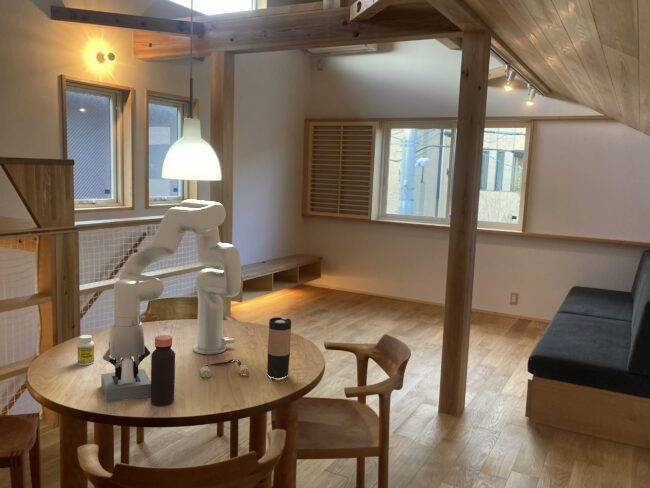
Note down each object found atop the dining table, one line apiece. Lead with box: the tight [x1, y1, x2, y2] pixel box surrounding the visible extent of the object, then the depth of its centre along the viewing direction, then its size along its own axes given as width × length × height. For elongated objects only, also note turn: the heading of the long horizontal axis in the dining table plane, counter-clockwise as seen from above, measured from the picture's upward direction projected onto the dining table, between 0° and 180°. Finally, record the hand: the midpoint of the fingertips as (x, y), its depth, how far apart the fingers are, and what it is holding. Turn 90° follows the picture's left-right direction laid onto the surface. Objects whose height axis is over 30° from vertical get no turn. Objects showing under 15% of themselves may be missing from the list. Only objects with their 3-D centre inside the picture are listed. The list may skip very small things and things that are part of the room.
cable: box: [199, 359, 250, 378], centre depth 193 cm, size 16×16×4 cm
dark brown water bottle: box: [150, 334, 176, 407], centre depth 164 cm, size 7×7×20 cm
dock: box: [100, 368, 151, 404], centre depth 171 cm, size 13×13×4 cm
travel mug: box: [266, 316, 292, 378], centre depth 189 cm, size 8×8×20 cm
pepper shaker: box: [118, 357, 136, 385], centre depth 170 cm, size 5×5×11 cm
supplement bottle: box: [77, 334, 95, 366], centre depth 191 cm, size 5×5×10 cm
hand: (126, 376), depth 171 cm, fingers closed on pepper shaker, 3 cm apart
